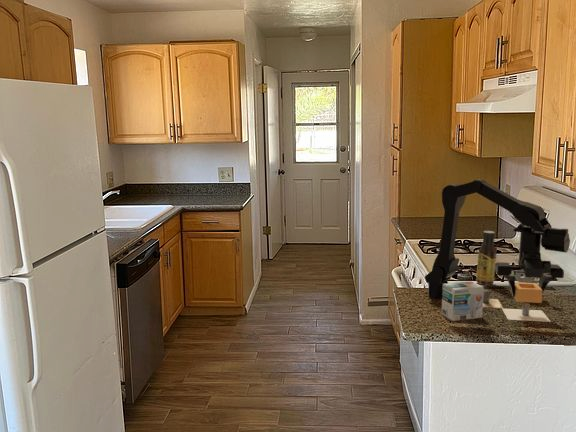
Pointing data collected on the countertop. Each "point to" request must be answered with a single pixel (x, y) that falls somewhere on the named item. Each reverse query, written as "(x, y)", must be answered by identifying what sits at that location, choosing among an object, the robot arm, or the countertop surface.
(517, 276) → the mechanical component
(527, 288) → the collar
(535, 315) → the hub board
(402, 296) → the countertop surface
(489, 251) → the sauce bottle
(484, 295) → the stand
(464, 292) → the light bulb box
